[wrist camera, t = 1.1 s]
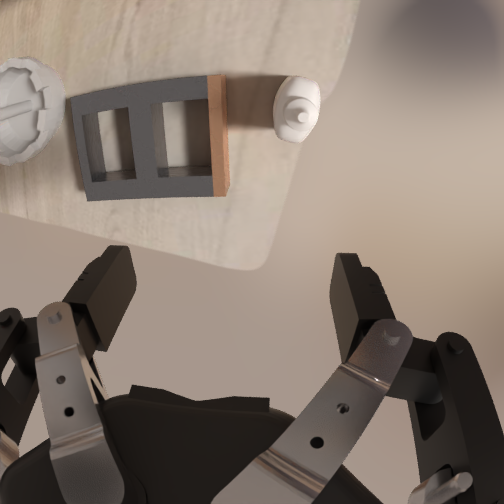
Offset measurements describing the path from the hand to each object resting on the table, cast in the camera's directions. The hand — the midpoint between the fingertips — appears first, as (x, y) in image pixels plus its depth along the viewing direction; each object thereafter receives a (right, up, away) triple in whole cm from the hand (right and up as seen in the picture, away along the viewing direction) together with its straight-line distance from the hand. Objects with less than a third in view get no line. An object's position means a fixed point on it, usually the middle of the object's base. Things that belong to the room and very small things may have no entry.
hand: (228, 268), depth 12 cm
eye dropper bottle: (+5, +16, +17) cm, 24 cm away
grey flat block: (-10, +13, +20) cm, 26 cm away
